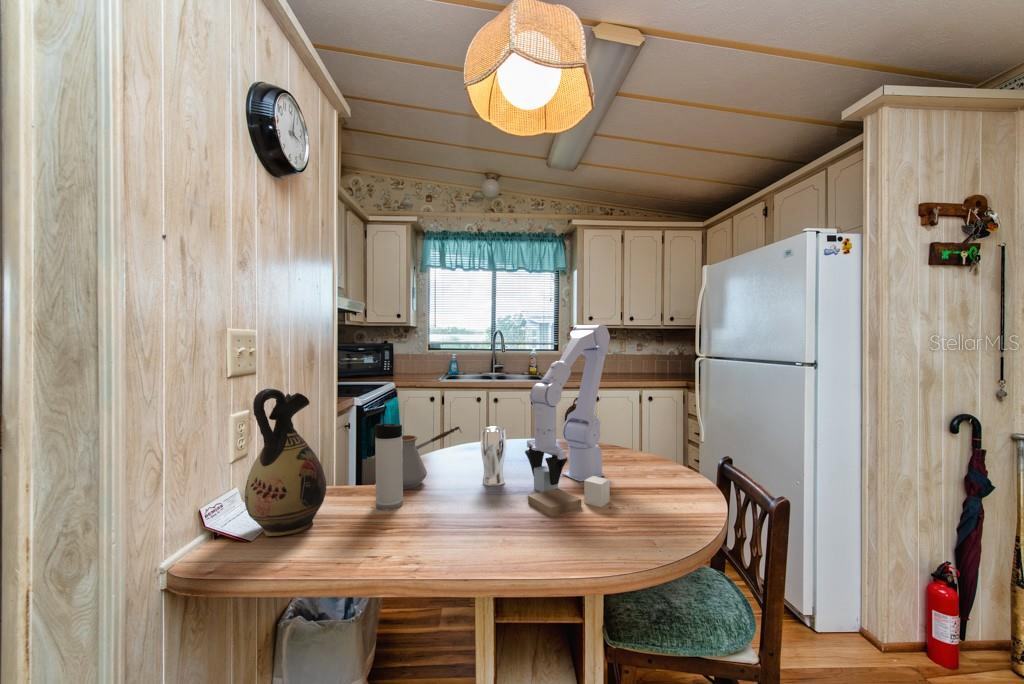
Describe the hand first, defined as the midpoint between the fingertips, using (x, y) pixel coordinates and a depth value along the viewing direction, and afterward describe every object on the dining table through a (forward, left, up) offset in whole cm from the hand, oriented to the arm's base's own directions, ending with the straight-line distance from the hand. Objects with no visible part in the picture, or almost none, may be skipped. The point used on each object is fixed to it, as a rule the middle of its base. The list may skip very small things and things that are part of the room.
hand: (545, 480), depth 114 cm
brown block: (+5, +10, -3) cm, 12 cm away
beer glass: (+9, -12, -3) cm, 15 cm away
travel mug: (+38, -12, -3) cm, 40 cm away
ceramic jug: (+60, -12, -3) cm, 62 cm away
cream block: (-5, +14, -3) cm, 15 cm away
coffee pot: (+25, -23, -3) cm, 34 cm away
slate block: (0, 0, -3) cm, 3 cm away
